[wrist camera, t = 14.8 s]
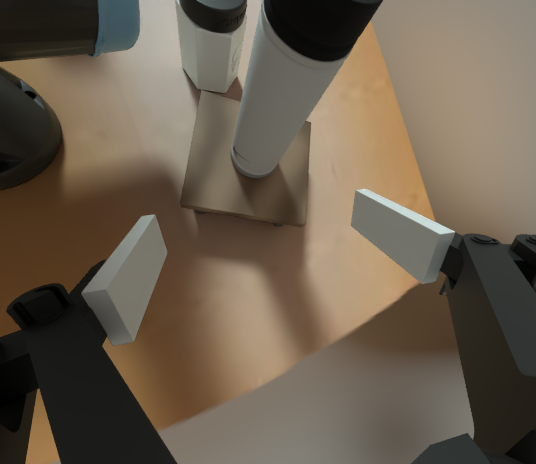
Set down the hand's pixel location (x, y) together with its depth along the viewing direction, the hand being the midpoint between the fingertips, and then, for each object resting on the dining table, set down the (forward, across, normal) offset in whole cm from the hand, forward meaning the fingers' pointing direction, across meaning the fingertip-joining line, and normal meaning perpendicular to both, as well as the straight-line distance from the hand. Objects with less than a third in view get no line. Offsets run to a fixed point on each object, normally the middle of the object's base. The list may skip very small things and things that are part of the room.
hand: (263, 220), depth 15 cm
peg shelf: (+22, +1, -2) cm, 22 cm away
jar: (+33, -2, +13) cm, 36 cm away
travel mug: (+17, +2, +1) cm, 18 cm away
